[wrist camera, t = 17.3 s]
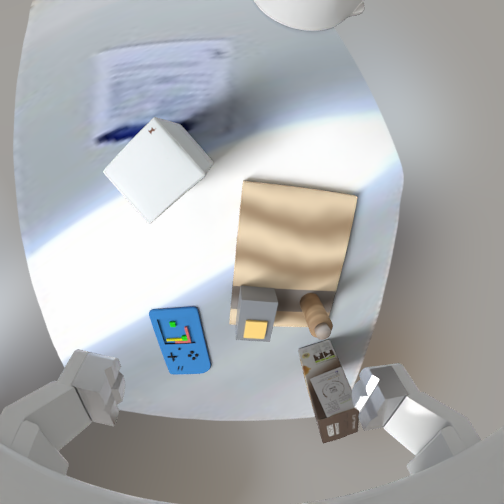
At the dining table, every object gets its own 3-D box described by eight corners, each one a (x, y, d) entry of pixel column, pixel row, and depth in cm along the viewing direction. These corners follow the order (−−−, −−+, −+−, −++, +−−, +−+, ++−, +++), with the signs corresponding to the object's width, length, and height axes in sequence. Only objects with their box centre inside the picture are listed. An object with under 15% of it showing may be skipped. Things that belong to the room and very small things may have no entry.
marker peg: (301, 292, 42) (315, 324, 34) (321, 293, 42) (337, 323, 35) (297, 309, 43) (309, 343, 36) (316, 310, 43) (331, 342, 36)
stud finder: (240, 285, 41) (241, 301, 37) (274, 288, 41) (278, 304, 37) (235, 323, 43) (236, 341, 39) (266, 325, 44) (269, 343, 40)
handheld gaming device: (170, 375, 48) (147, 312, 42) (171, 371, 49) (148, 308, 43) (212, 374, 48) (196, 308, 42) (212, 370, 49) (197, 305, 43)
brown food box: (296, 348, 48) (316, 420, 33) (330, 338, 48) (359, 405, 33) (304, 379, 51) (322, 444, 37) (334, 369, 51) (359, 432, 36)
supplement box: (139, 159, 34) (99, 170, 22) (180, 122, 33) (155, 113, 21) (174, 199, 37) (148, 226, 25) (216, 163, 35) (207, 174, 24)
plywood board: (242, 180, 36) (243, 182, 35) (354, 195, 38) (357, 196, 37) (229, 319, 44) (229, 324, 43) (323, 322, 46) (325, 327, 45)
